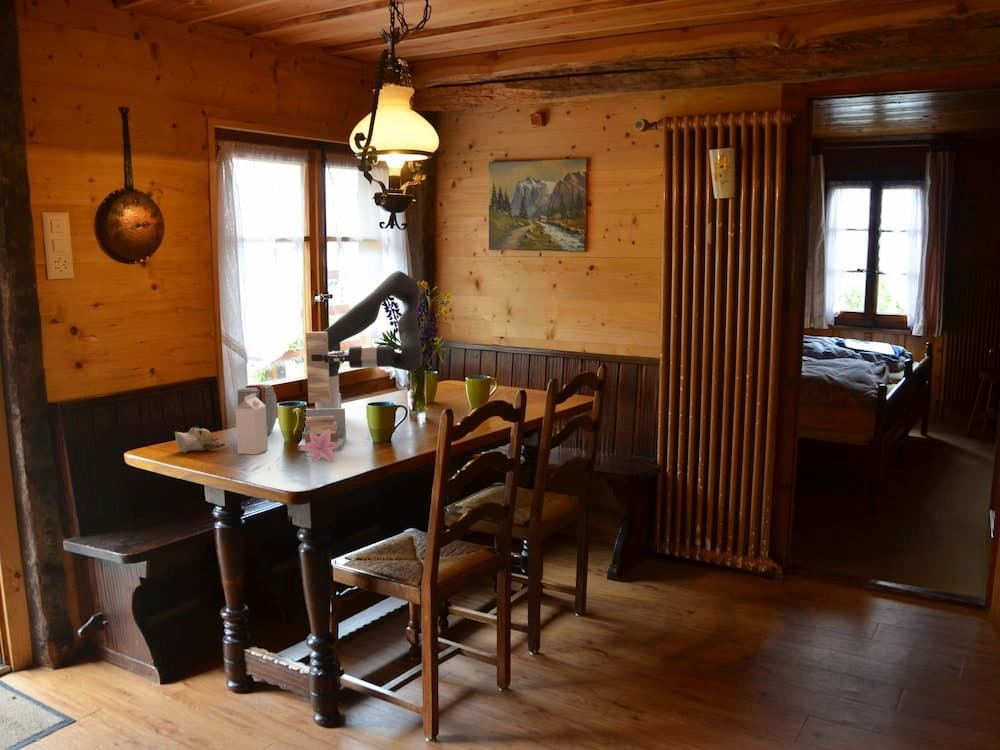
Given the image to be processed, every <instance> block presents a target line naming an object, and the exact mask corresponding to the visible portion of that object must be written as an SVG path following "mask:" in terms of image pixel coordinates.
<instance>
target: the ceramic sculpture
mask: <svg viewBox="0 0 1000 750" xmlns="http://www.w3.org/2000/svg"><path fill="white" fill-rule="evenodd" d="M174 435H175V443H176V444H177V446H178V448H179V451H180V452H181V453H183V452H184V453H188V451H191V450H192V451H196V452H197V451H198V452H199V451H207V450H216V449H219V448H221V447H223V446H225V445H226V444H225V443H220V442H219V441H218V440H219V439H218V437H216V438H213V435H212V433H211V431H210V430H208V429H206V428H199V426H198V425H195V426H193V427H191V428H190V429H189V430H188V431H187V432H181V431H180V432H178V431H175V432H174Z"/></svg>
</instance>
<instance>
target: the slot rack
mask: <svg viewBox="0 0 1000 750" xmlns="http://www.w3.org/2000/svg"><path fill="white" fill-rule="evenodd" d="M305 409H306V412H305V415H306V416H305V418H306V417H314V416H333V421H334V422H336V423H337V433H338V439H337V441H336V443H337V444H339V446H338V447H336V448H334V449H332V451H342V449H343V447H344V445H345V442H346V440H347V433H346V432H347V431H346V429H347V427H346V425H347V424H346V408H345V407H344V408H343V407H341V408H335V409H315V408H305ZM307 431H310V426H306V420H305V427H304V429H303V432H302V433H301V434H302V435H301V437H302V439H301V441H300V442H298V443H299V444H297V450H298V452H306V451H305V450H302V449H301V447H302V446H303V445H305V444H307V443H305V434H306V432H307Z"/></svg>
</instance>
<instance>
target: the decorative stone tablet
mask: <svg viewBox="0 0 1000 750" xmlns="http://www.w3.org/2000/svg"><path fill="white" fill-rule="evenodd" d="M236 393H237V395H236V396H237V407H238V406H239V405H240V404H241V403H242V402H243V401H244V397H246V396H249V395H252V394H255V393H256V397H257V398H258V399H259V400H260V401H261V402H262V403H263V404H264V405H265V406H266V422H267V436H268V435H270V433H271V432H272V431H273V430H274V427H275V424H276V421H277V415H278V412H277V411H278V404H277V395H276V393H275V390H274V388H273V386H272V385H270V384H249V385H246V386H245V387H243V388H239V389H237V391H236Z"/></svg>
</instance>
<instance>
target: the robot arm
mask: <svg viewBox="0 0 1000 750" xmlns="http://www.w3.org/2000/svg"><path fill="white" fill-rule="evenodd" d="M419 287H420V286H419V283H418V282H417V281H416V279H414V278H413V277H411V276H409V275H408V274H406V273H405V272H403V271H400V270H398V271H397V270H396V271H394V272H392V273H391V274H389V275H388V276H387V277H386V278H385V279H384V280H383V281H382V282H381V283H380V284H378V286H377V287H376V288H375V289H374V290H372V291H371V292H370V293H369V294H368V295H366V296H365V297H364V298H363V299H362V300H361V301H358V303H357V304H355V305H354V306H353V307H351V308H350V309H349V310H347V312H345V314H343V315H341V316H340V317H339V318H338V319H337V320H336V321H335V322H334V323H332V324H331V325H330V326H328V327H327V328H325V329H324V330H322V331H321V332H328V354H323V355H312V356H311V360H312V361H323V362H325V363H329V383H330V402H329V403H314V405H315V408H314V409H335V408H342V393H340V389H339V388H340V381H339V372H340V367H341V364H344V363H347V362H348V363H349V364H348V365H349V368H350V369H361V368H362V369H365V368H366V369H368V368H371V369H372V368H383V367H384V368H385V367H389V368H395V369H398V370H403V371H416V370H418V369H420V368H421V367H422V365H423V359H424V358H423V347H422V343H421V339H420V336H421V335H420V328H419V321H418V316H419V315H418V314H419V311H418V310H419V297H420V296H419V295H420V289H419ZM390 297H393V298H395V299H397V300H399V301H401V302H402V304H403V308H404V311H403V312H402V314H401V316H400V317H399V320H398V324H397V327H398V337H399V340H400V341H399V342H400V347H401V348H400V349H401V352H397V351H395V348H394V347H393V346H389V345H388V346H387V345H383V346H382V345H378V346H375V345H350V346H348V352H345V350H341V343H342V342H344V341H345V340H347V339H350V338H352V337H355V336H356V335H358V334H360V333H362V332H364V331H365V330H366V329H368V328H369V327H370V326H371V325H373V324H374V323H375V322H376V320H377V318H379V317H378V316H379V313H380V309H381V306H382V304H383V302H384V301H386V300H387V299H388V298H390ZM328 357H329V360H328Z"/></svg>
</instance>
